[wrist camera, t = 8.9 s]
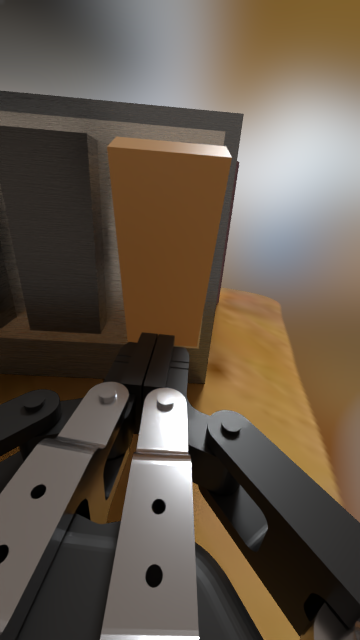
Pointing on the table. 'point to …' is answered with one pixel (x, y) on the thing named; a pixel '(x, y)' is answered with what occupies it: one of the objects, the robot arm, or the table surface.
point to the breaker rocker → (166, 231)
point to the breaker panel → (81, 229)
